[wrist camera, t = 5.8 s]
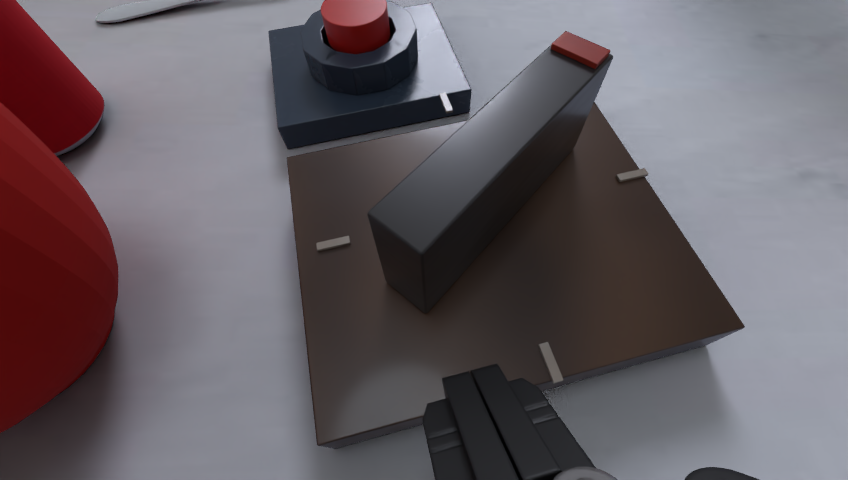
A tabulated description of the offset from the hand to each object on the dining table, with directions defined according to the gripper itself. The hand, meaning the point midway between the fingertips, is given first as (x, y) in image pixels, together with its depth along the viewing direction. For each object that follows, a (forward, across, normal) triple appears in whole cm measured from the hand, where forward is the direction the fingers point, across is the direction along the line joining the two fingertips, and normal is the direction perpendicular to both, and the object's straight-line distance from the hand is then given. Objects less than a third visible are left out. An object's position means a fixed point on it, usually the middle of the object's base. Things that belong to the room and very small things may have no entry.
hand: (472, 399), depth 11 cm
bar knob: (+8, -3, -3) cm, 9 cm away
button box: (+19, 0, -10) cm, 22 cm away
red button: (+17, 0, -13) cm, 21 cm away
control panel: (+9, -3, 0) cm, 10 cm away
